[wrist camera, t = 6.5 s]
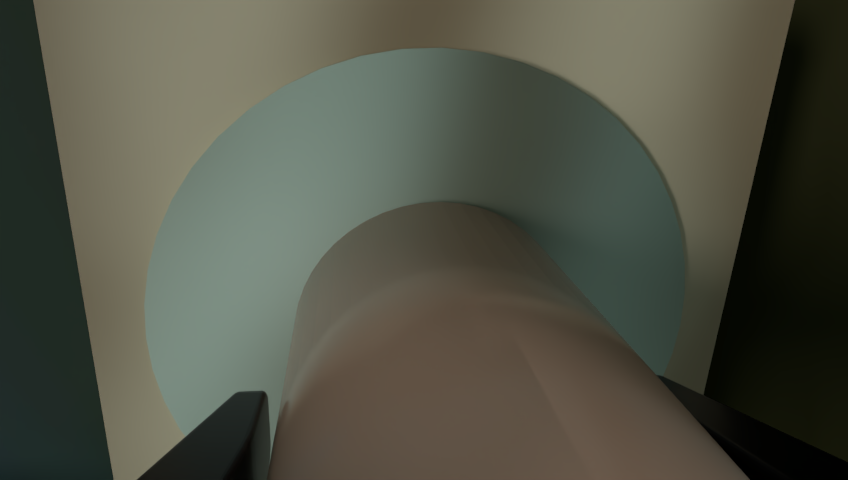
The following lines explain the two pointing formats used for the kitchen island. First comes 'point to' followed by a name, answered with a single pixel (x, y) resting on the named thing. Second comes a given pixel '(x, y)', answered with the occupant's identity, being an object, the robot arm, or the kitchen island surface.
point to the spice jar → (469, 366)
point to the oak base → (389, 167)
